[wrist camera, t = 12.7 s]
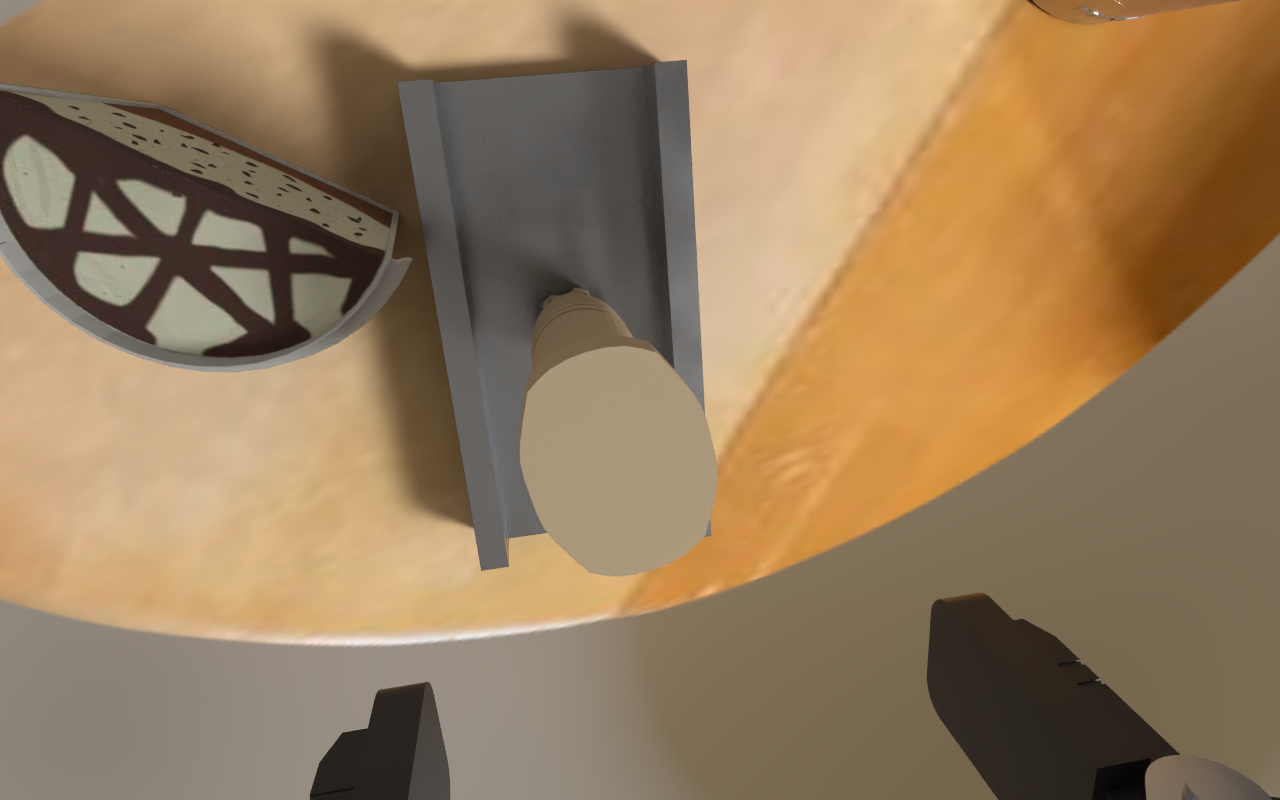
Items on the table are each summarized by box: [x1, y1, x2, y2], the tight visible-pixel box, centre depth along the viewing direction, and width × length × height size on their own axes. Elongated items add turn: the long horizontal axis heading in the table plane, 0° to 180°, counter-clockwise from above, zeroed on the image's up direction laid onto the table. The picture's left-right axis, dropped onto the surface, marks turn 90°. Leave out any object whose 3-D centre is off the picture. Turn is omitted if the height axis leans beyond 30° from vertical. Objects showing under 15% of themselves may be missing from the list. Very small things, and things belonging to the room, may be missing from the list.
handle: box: [519, 288, 718, 576], centre depth 27 cm, size 5×6×15 cm
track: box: [397, 60, 711, 571], centre depth 33 cm, size 20×10×4 cm, turn 4°
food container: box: [0, 83, 413, 372], centre depth 27 cm, size 12×6×10 cm, turn 64°
